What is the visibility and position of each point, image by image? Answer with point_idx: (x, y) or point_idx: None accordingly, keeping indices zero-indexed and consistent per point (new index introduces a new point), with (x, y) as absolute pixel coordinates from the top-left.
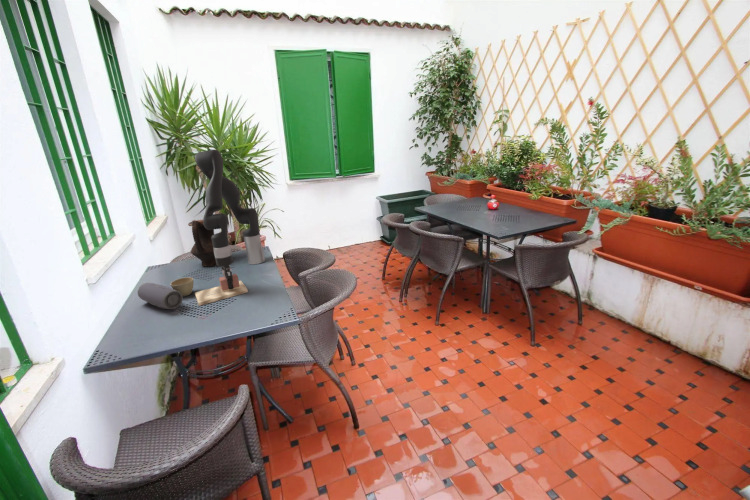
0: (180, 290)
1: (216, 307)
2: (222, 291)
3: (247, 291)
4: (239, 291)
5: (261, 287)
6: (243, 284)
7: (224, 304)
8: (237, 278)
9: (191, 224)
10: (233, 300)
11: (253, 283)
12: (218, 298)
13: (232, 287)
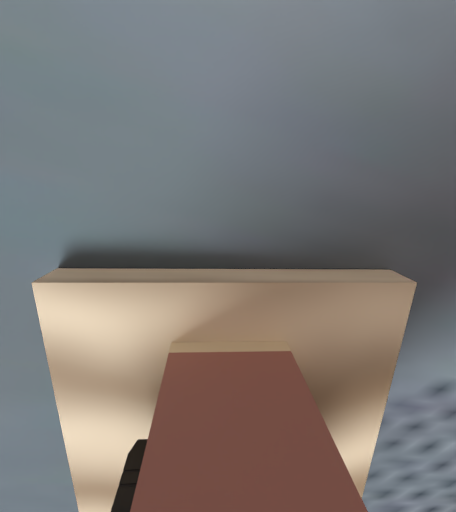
0: None
1: (445, 501)
2: None
3: (394, 276)
4: (393, 364)
5: (398, 89)
6: (219, 288)
7: (449, 461)
8: (350, 494)
9: None
10: (444, 405)
11: (174, 138)
12: None
13: None
